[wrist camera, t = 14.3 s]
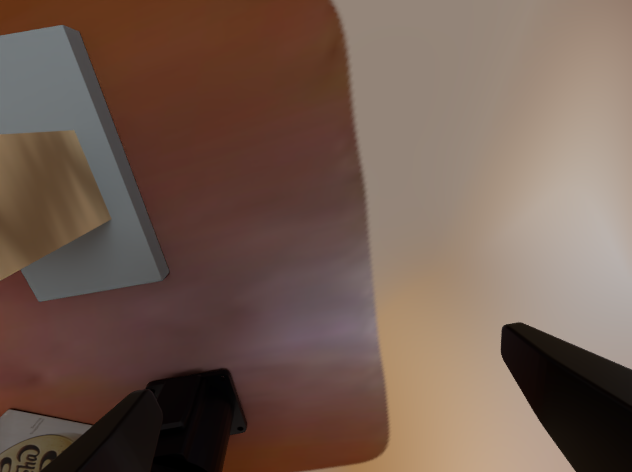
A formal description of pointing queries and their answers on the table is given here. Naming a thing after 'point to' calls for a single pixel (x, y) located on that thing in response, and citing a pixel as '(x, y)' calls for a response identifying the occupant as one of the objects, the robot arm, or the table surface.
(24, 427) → the coffee box
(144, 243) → the slate board
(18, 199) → the block
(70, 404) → the table surface
